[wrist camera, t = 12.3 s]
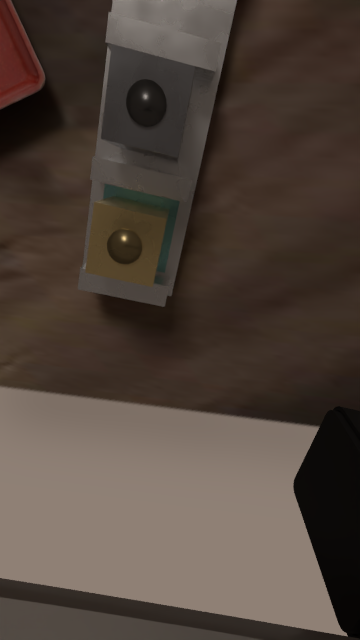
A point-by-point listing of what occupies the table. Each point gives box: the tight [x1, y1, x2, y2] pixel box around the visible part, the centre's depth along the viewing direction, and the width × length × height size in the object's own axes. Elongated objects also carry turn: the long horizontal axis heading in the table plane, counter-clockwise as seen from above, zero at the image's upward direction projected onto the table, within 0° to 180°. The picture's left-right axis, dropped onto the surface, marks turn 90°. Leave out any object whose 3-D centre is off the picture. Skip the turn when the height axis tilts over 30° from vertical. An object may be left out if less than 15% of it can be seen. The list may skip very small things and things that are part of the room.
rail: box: [78, 0, 237, 307], centre depth 25 cm, size 8×26×5 cm, turn 168°
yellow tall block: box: [85, 196, 169, 287], centre depth 25 cm, size 4×4×7 cm
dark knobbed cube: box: [101, 44, 196, 162], centre depth 22 cm, size 4×4×7 cm
